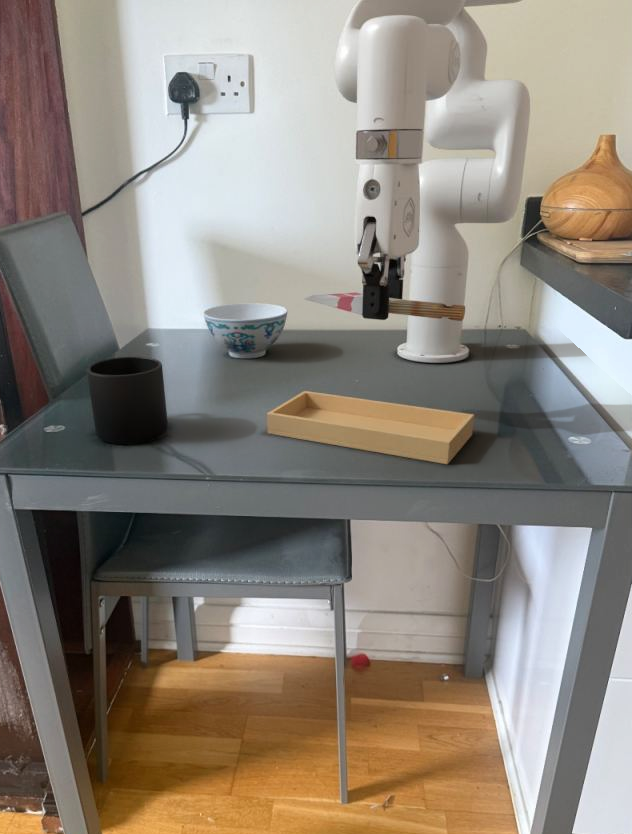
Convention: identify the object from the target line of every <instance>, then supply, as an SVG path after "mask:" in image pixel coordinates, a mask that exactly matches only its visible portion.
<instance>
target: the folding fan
mask: <svg viewBox="0 0 632 834" xmlns="http://www.w3.org/2000/svg"><path fill="white" fill-rule="evenodd" d="M304 300H305V301H308V302H313V303H316V304H320V305H324V306H327V307H331V308H335V309H339V310H342V311H346V312H350V313H353V314H356V315H360V316H362V307H363V291H359V292H344V293H343V292H342V293H329V294H328V293H327V294H313V295H312V294H311V295H310V296H307V297H305V298H304ZM389 314H392V315H393V314H395V315H402V316H408V315H411V316H420V317H428V318H437V319H440V318H442V317H447V318H448V319H451V320H456V321H463V322H464V318H465V315H466V306H465V305H464V306H463V305H451V306H446V304H443V303H433V302H422V301H412V300H409V299H403V298H402V299H394V298H389Z"/></svg>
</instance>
